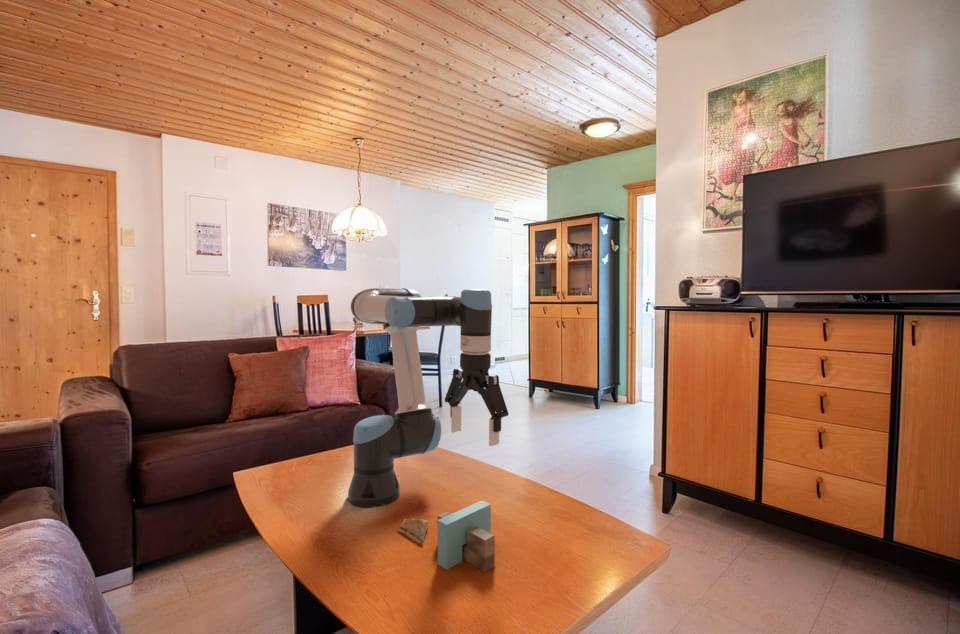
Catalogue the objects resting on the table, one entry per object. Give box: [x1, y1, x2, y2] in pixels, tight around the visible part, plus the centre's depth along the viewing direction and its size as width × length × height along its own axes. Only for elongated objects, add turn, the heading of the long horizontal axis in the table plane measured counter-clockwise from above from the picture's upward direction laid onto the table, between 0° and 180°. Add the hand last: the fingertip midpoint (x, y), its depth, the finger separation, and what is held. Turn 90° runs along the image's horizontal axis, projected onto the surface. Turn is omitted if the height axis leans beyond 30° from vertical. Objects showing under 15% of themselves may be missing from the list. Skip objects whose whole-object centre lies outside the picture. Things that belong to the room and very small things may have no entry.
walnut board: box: [437, 511, 496, 573], centre depth 104 cm, size 16×3×7 cm, turn 45°
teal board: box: [437, 500, 492, 570], centre depth 104 cm, size 14×3×10 cm, turn 135°
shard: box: [397, 518, 430, 545], centre depth 114 cm, size 11×8×2 cm
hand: (474, 437), depth 111 cm, fingers open, 13 cm apart
